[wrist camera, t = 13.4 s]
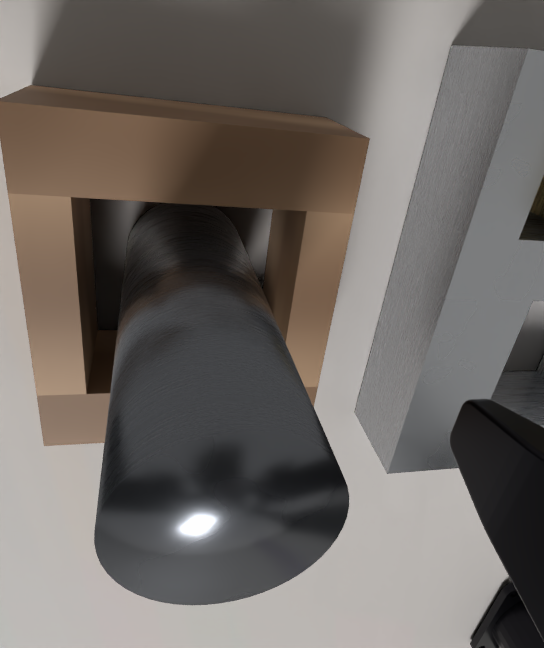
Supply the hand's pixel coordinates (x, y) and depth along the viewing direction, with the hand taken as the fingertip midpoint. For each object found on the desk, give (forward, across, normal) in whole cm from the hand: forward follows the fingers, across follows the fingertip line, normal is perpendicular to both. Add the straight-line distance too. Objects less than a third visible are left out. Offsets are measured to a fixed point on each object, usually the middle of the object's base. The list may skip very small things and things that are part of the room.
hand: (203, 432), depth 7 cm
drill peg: (+7, 0, 0) cm, 7 cm away
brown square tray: (+7, 0, 0) cm, 7 cm away
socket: (+7, -12, 0) cm, 14 cm away
